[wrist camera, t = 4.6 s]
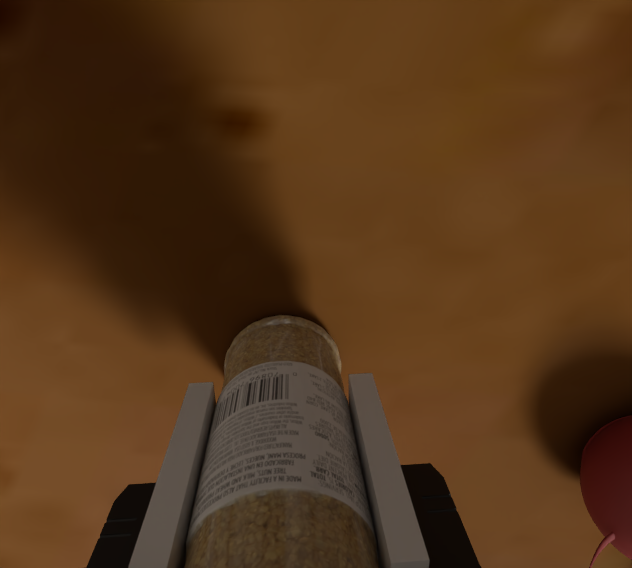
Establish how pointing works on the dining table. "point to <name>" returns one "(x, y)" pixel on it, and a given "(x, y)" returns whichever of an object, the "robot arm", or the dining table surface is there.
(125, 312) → the dining table surface
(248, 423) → the sprinkles bottle
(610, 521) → the fruit
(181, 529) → the robot arm
